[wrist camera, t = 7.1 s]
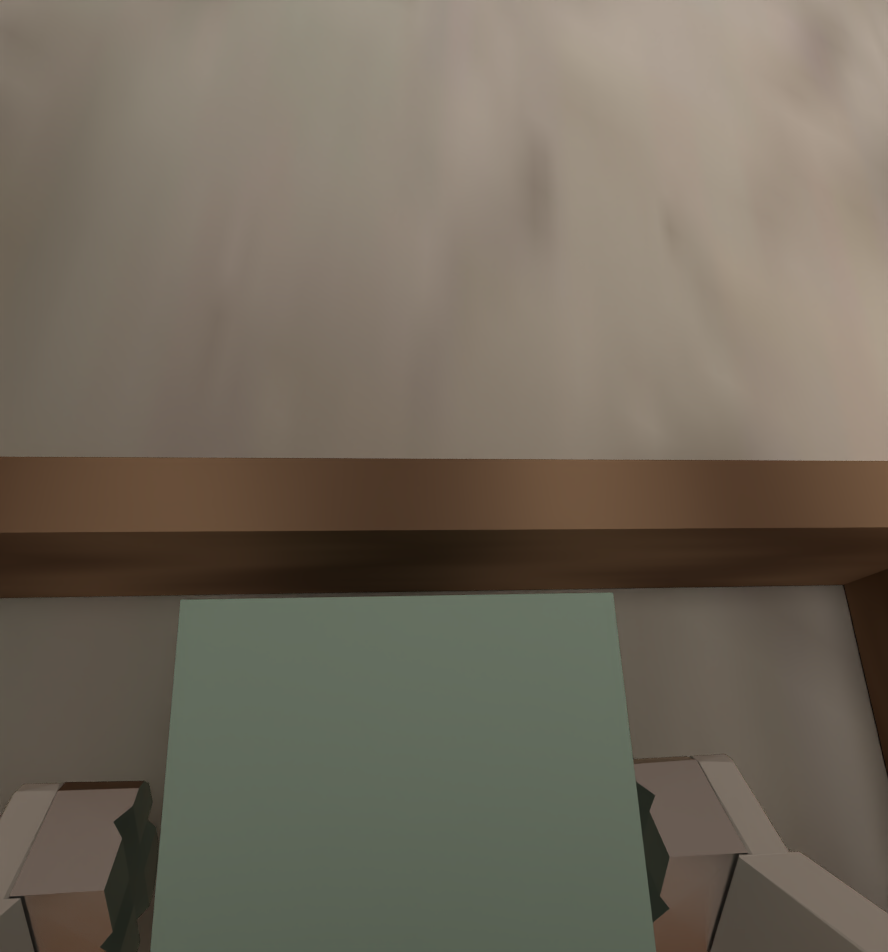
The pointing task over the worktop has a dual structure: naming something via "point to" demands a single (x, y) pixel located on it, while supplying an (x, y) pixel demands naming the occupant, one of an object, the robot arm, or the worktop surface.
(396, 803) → the sage green block
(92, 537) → the wooden u-shaped stand
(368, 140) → the worktop surface
